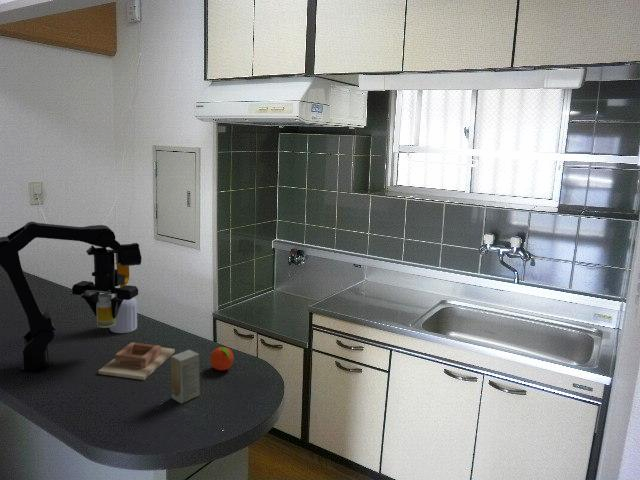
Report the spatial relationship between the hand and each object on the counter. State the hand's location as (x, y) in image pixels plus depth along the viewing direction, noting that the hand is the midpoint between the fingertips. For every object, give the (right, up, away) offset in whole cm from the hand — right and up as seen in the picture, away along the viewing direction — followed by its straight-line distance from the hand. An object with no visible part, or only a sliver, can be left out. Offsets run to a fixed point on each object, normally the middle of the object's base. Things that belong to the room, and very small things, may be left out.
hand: (106, 317), depth 160 cm
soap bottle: (-4, -8, +24) cm, 26 cm away
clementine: (+36, -16, -3) cm, 40 cm away
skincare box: (+29, -19, -20) cm, 40 cm away
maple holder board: (+10, -14, -1) cm, 17 cm away
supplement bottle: (0, -3, +1) cm, 3 cm away
